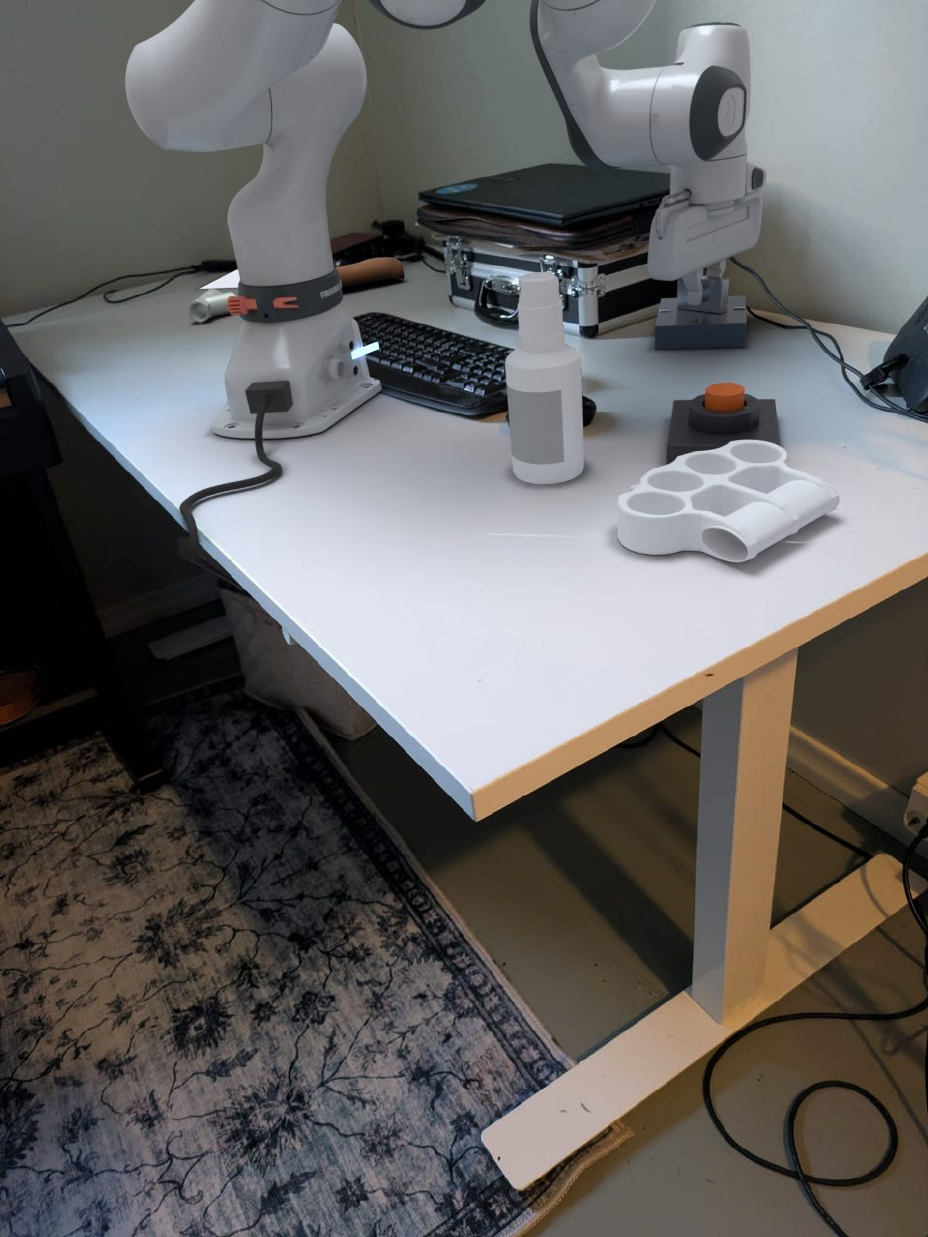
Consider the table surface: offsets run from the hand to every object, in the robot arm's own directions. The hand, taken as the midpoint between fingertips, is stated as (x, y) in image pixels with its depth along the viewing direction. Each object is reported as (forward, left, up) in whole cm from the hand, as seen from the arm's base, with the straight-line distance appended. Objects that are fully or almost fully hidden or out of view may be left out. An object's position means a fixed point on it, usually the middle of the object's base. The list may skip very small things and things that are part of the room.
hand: (703, 300), depth 117 cm
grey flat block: (0, 0, -4) cm, 4 cm away
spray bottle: (-43, +13, -4) cm, 46 cm away
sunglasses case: (+34, +61, -4) cm, 70 cm away
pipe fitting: (+18, +79, -4) cm, 81 cm away
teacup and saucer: (+48, +83, -4) cm, 96 cm away
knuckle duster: (-52, -3, -4) cm, 53 cm away
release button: (-36, -3, 0) cm, 37 cm away
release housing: (-36, -3, -4) cm, 37 cm away
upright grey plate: (0, 0, -1) cm, 1 cm away
